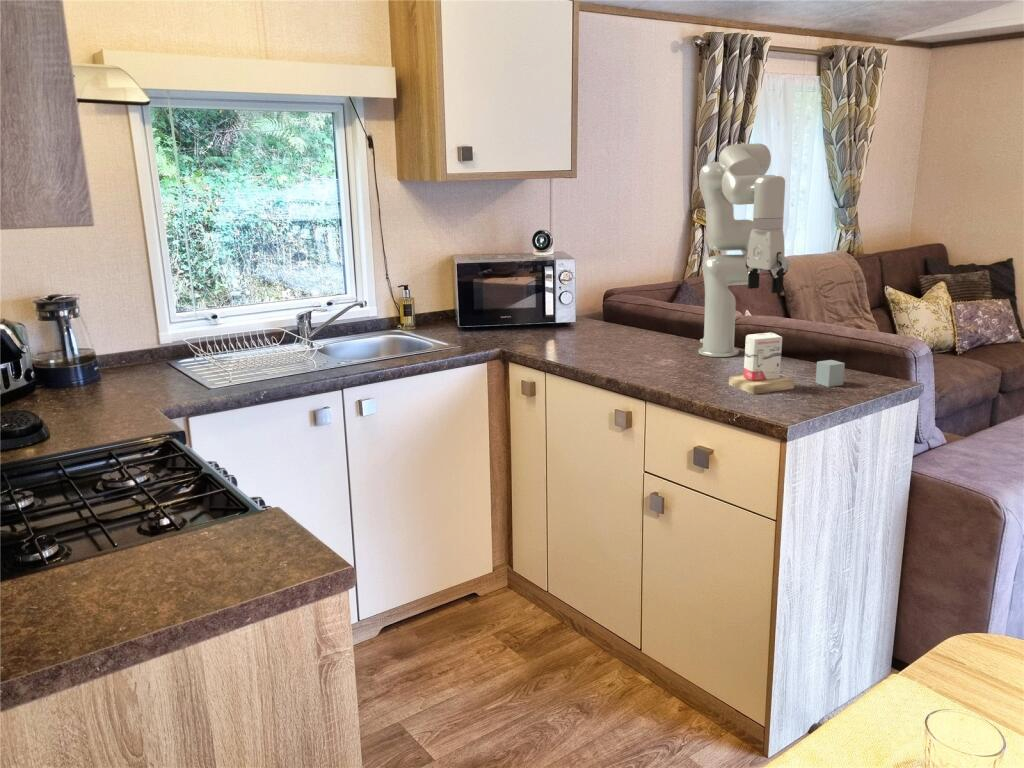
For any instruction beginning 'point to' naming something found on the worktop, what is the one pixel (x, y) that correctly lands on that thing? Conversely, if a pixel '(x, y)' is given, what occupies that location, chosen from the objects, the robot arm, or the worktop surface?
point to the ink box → (762, 356)
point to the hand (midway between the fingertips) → (764, 290)
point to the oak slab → (761, 384)
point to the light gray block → (830, 373)
